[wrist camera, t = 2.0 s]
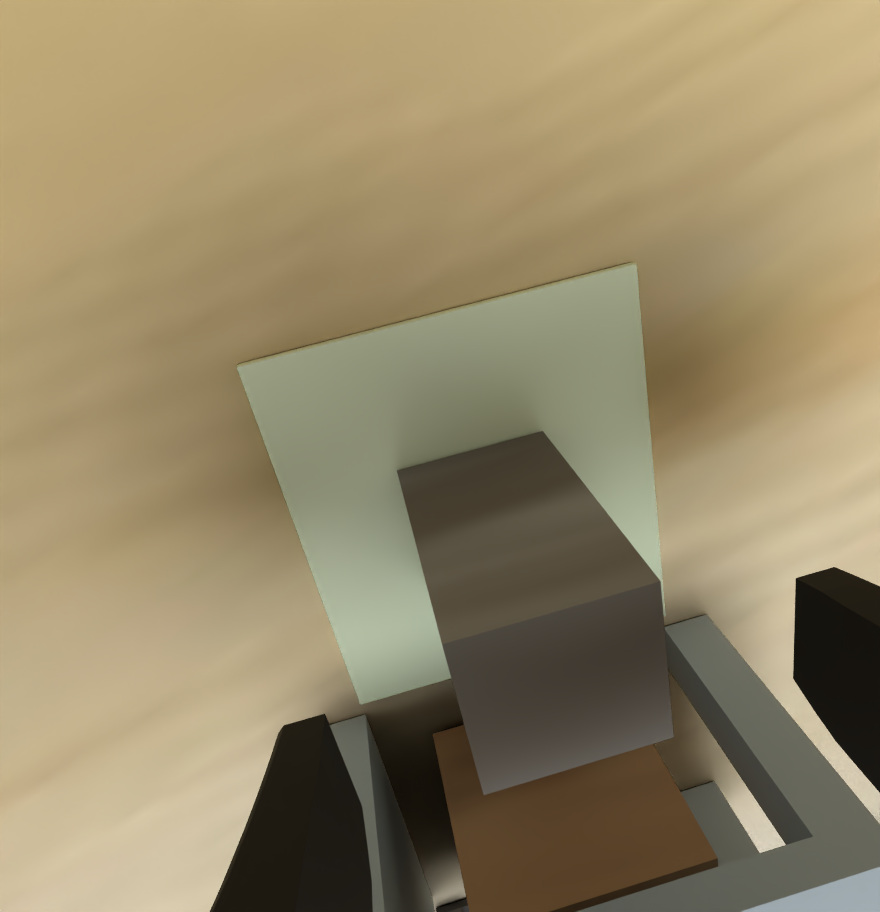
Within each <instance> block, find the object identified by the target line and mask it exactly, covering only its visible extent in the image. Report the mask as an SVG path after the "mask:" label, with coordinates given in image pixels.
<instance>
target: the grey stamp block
mask: <svg viewBox="0 0 880 912" xmlns="http://www.w3.org/2000/svg"><path fill="white" fill-rule="evenodd" d="M397 474H398V477H399V481H400V485H401V489H402V493H403V497H404V500H405V504H406V508H407V512H408V516H409V520H410V524H411V527H412V531H413V535H414V539H415V543H416V547H417V550H418V554H419V558H420V562H421V566H422V570H423V574H424V577H425V581H426V585H427V589H428V593H429V597H430V600H431V604H432V608H433V612H434V616H435V620H436V623H437V627H438V631H439V635H440V639H441V643H442V646H443V650H444V654H445V657H446V661H447V664H448V668H449V672H450V675H451V679H452V683H453V686H454V690H455V693H456V697H457V701H458V704H459V708H460V711H461V715H462V719H463V722H464V725H462V726H458V727H455V728H451V729H448V730H445V731H441V732H438V733H435V734H433V738H434V742H435V747H436V752H437V757H438V762H439V767H440V772H441V776H442V781H443V786H444V791H445V796H446V801H447V806H448V810H449V815H450V820H451V825H452V830H453V835H454V839H455V844H456V849H457V854H458V859H459V864H460V869H461V873H462V878H463V883H464V888H465V893H466V898H467V903H468V907H469V912H576V911H580V910H583V909H586V908H589V907H592V906H595V905H599V904H602V903H605V902H608V901H611V900H614V899H617V898H621V897H624V896H627V895H630V894H633V893H636V892H640V891H643V890H646V889H649V888H652V887H655V886H659V885H662V884H665V883H668V882H671V881H674V880H677V879H681V878H684V877H687V876H690V875H693V874H696V873H700V872H703V871H706V870H709V869H712V868H715V867H718V858H717V856H716V854H715V853H714V851H713V849H712V847H711V845H710V844H709V842H708V840H707V838H706V837H705V835H704V833H703V831H702V829H701V828H700V826H699V824H698V822H697V821H696V819H695V817H694V815H693V813H692V812H691V810H690V808H689V806H688V805H687V803H686V801H685V799H684V797H683V796H682V794H681V792H680V790H679V789H678V787H677V785H676V783H675V782H674V780H673V778H672V776H671V774H670V773H669V771H668V769H667V767H666V766H665V764H664V762H663V760H662V758H661V757H660V755H659V753H658V751H657V750H656V748H655V746H654V743H657V742H661V741H664V740H667V739H671V738H674V735H673V723H672V711H671V699H670V687H669V675H668V663H667V651H666V639H665V627H664V616H663V604H662V592H661V581H660V580H659V579H658V577H657V576H656V575H655V573H654V572H653V571H652V570H651V568H650V567H649V566H648V564H647V563H646V562H645V561H644V559H643V558H642V557H641V556H640V554H639V553H638V552H637V550H636V549H635V548H634V547H633V545H632V544H631V543H630V541H629V540H628V539H627V538H626V536H625V535H624V534H623V533H622V531H621V530H620V529H619V527H618V526H617V525H616V524H615V522H614V521H613V520H612V519H611V517H610V516H609V515H608V513H607V512H606V511H605V510H604V508H603V507H602V506H601V504H600V503H599V502H598V501H597V499H596V498H595V497H594V496H593V494H592V493H591V492H590V490H589V489H588V488H587V487H586V485H585V484H584V483H583V481H582V480H581V479H580V478H579V476H578V475H577V474H576V473H575V471H574V470H573V469H572V467H571V466H570V465H569V464H568V462H567V461H566V460H565V459H564V457H563V456H562V455H561V453H560V452H559V451H558V450H557V448H556V447H555V446H554V444H553V443H552V442H551V441H550V439H549V438H548V437H547V436H546V434H545V433H544V432H543V431H540V432H537V433H533V434H529V435H526V436H522V437H518V438H515V439H511V440H507V441H504V442H500V443H496V444H493V445H489V446H485V447H482V448H478V449H474V450H471V451H467V452H463V453H460V454H456V455H452V456H449V457H445V458H441V459H438V460H434V461H430V462H426V463H423V464H419V465H415V466H412V467H408V468H404V469H401V470H397Z"/></svg>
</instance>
